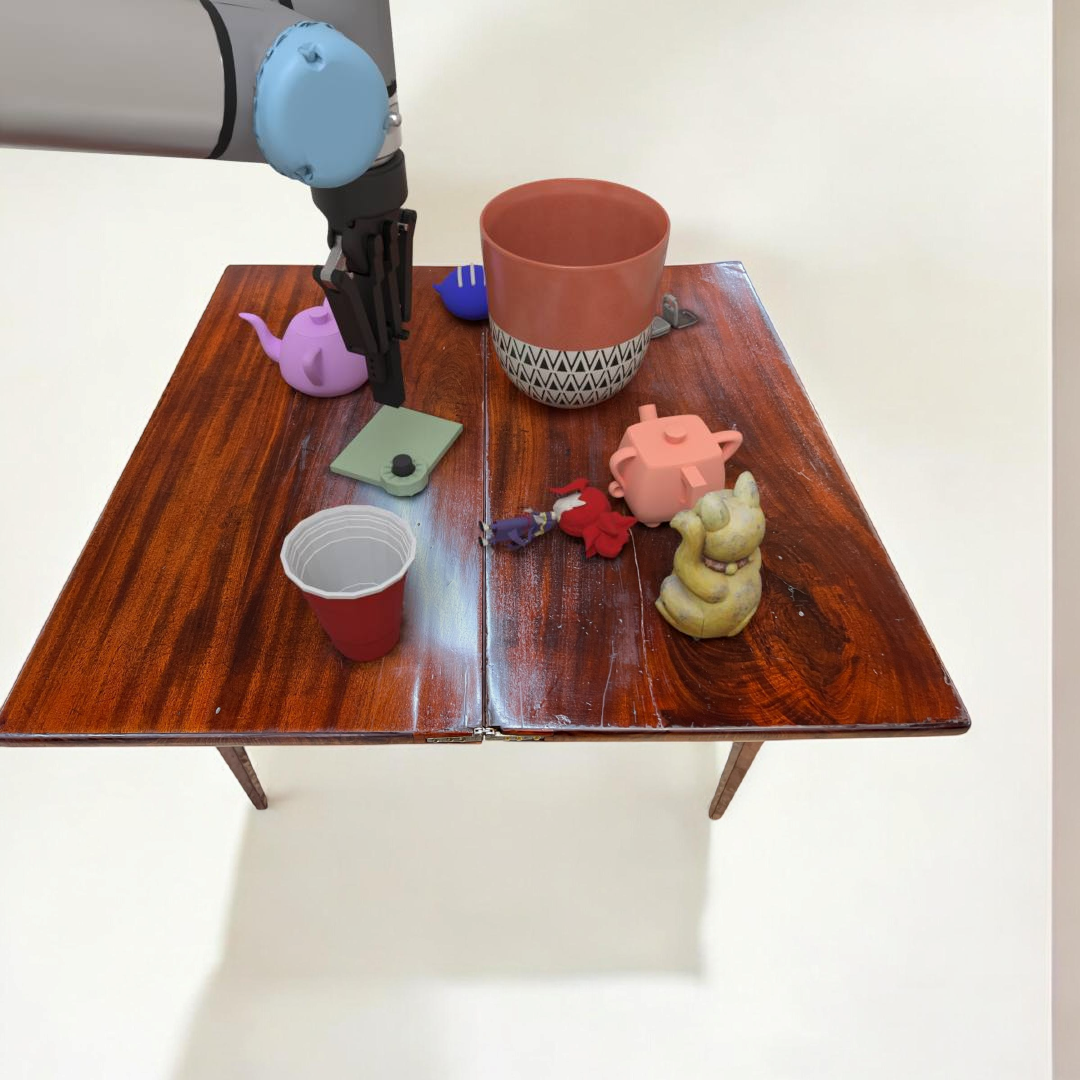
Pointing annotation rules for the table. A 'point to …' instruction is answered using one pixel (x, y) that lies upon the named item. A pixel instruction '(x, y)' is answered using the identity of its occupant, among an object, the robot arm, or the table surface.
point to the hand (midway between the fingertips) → (389, 400)
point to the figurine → (569, 522)
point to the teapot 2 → (669, 464)
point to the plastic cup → (353, 575)
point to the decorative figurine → (716, 563)
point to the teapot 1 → (313, 353)
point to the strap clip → (671, 317)
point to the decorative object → (465, 292)
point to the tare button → (402, 465)
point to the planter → (572, 285)
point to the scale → (397, 449)
